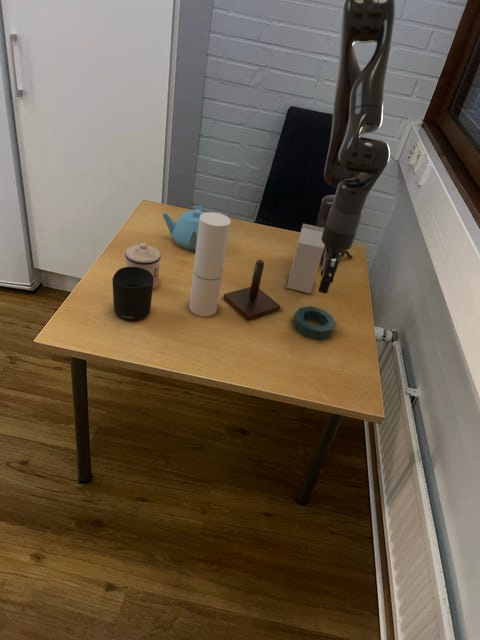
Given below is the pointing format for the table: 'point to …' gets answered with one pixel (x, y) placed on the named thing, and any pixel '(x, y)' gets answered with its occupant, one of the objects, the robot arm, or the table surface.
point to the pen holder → (132, 293)
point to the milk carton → (306, 259)
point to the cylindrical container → (209, 263)
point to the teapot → (185, 228)
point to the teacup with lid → (144, 259)
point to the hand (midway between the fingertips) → (323, 283)
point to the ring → (313, 330)
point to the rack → (252, 298)
